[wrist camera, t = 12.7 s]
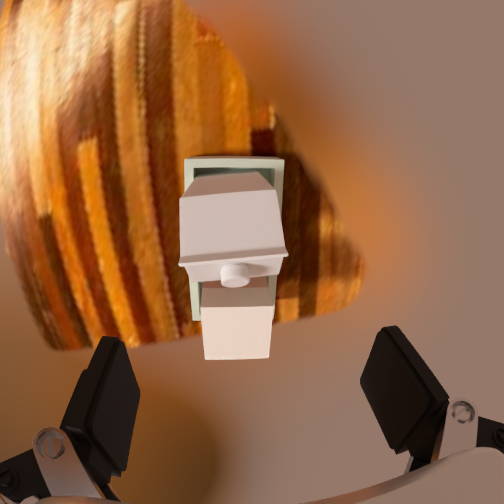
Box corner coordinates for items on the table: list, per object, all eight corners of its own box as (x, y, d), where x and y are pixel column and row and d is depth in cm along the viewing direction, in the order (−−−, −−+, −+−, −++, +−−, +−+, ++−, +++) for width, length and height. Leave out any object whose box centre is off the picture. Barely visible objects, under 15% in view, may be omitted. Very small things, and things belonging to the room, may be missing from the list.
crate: (189, 156, 34) (184, 159, 29) (276, 157, 35) (284, 159, 31) (195, 301, 42) (192, 320, 38) (268, 300, 43) (273, 318, 39)
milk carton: (197, 173, 34) (169, 211, 17) (255, 168, 35) (287, 200, 17) (203, 227, 37) (187, 310, 19) (258, 222, 37) (288, 301, 20)
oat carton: (207, 248, 38) (199, 306, 25) (257, 248, 39) (273, 305, 26) (208, 292, 41) (204, 360, 28) (255, 291, 41) (269, 358, 28)
